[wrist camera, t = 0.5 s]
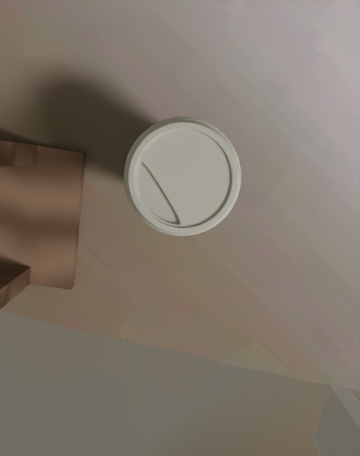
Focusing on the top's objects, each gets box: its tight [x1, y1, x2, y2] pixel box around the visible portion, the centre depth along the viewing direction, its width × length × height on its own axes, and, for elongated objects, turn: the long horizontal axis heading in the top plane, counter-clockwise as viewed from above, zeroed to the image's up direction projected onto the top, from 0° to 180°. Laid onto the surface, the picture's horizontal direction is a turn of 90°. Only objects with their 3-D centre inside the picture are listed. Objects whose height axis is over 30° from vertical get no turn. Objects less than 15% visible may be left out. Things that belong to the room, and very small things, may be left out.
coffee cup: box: [124, 117, 241, 236], centre depth 26 cm, size 8×8×12 cm
